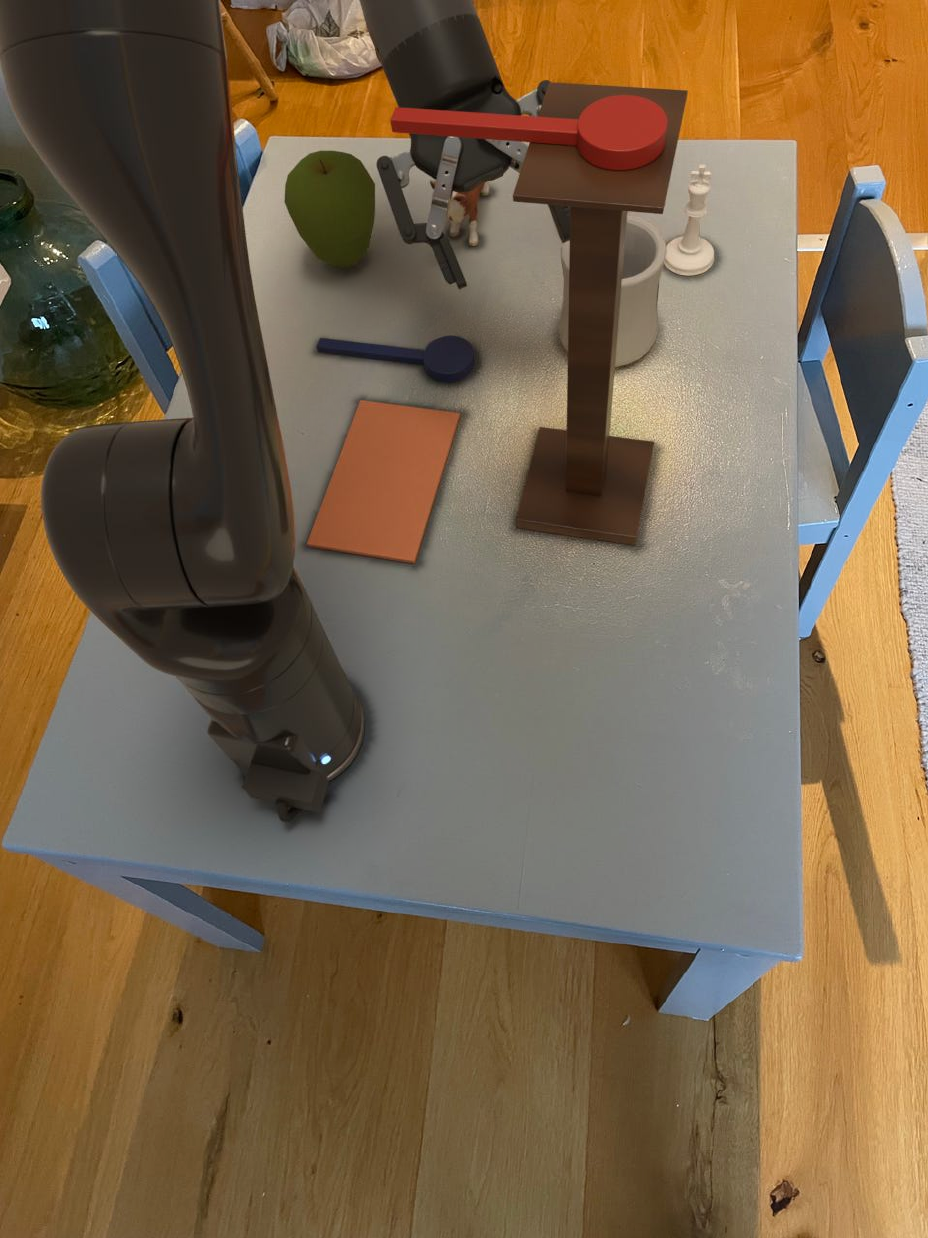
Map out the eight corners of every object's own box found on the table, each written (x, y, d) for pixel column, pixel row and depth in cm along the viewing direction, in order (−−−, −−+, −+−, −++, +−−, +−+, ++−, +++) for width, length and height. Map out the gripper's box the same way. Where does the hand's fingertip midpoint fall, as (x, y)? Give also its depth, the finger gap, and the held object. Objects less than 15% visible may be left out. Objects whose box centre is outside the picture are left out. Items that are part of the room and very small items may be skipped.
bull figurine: (429, 266, 94) (418, 196, 87) (460, 179, 100) (453, 106, 92) (471, 271, 93) (464, 200, 86) (500, 182, 99) (496, 109, 92)
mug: (674, 351, 85) (687, 263, 77) (584, 385, 85) (587, 299, 76) (614, 267, 91) (621, 177, 83) (529, 298, 90) (526, 209, 82)
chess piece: (711, 277, 90) (728, 186, 81) (660, 273, 90) (671, 182, 82) (715, 242, 92) (732, 149, 83) (665, 239, 93) (676, 146, 84)
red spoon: (658, 174, 49) (661, 153, 48) (383, 152, 52) (379, 132, 51) (671, 117, 52) (673, 96, 50) (405, 100, 54) (402, 80, 53)
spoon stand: (635, 545, 76) (683, 209, 48) (516, 527, 78) (494, 193, 50) (653, 450, 80) (705, 90, 52) (539, 435, 82) (531, 80, 54)
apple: (318, 300, 93) (289, 200, 83) (294, 248, 97) (263, 147, 87) (399, 272, 94) (380, 169, 84) (372, 222, 98) (351, 118, 87)
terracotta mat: (415, 563, 77) (414, 561, 77) (307, 546, 79) (306, 543, 78) (460, 415, 84) (460, 412, 84) (361, 402, 86) (360, 399, 86)
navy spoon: (468, 385, 86) (467, 376, 85) (312, 366, 89) (309, 357, 88) (480, 347, 88) (479, 338, 87) (327, 329, 91) (324, 320, 90)
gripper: (330, 67, 63) (427, 300, 67) (525, -28, 61) (612, 216, 65) (344, 97, 70) (430, 305, 74) (518, 13, 69) (597, 230, 73)
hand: (515, 263), depth 70 cm, fingers open, 8 cm apart
